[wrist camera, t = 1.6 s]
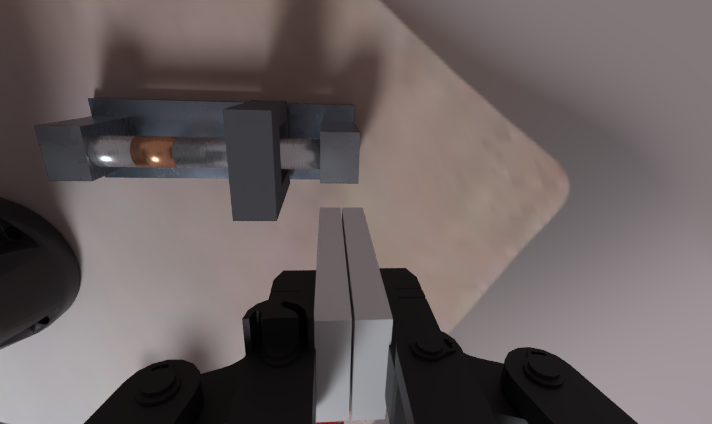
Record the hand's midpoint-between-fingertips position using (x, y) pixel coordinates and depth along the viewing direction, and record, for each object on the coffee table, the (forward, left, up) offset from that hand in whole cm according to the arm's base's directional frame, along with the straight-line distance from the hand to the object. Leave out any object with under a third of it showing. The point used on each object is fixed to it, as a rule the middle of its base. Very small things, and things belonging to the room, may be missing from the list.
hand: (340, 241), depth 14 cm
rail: (-10, 0, -22) cm, 24 cm away
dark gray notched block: (-6, 0, -21) cm, 22 cm away
